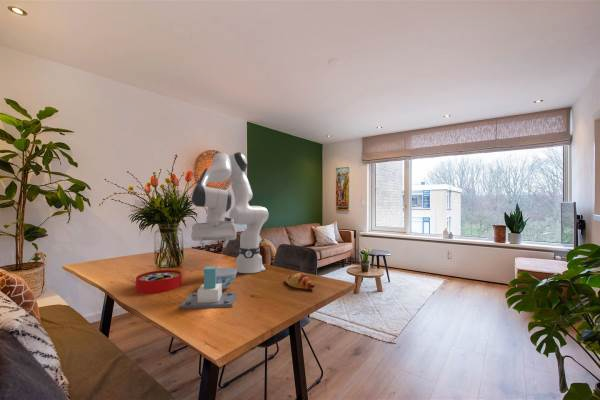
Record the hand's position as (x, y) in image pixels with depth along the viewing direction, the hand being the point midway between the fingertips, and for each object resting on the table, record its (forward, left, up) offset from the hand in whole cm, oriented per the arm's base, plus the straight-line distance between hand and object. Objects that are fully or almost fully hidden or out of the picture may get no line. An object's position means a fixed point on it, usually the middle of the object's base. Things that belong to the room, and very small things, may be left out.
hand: (213, 246), depth 122 cm
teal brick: (+10, +1, -15) cm, 18 cm away
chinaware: (-9, +2, -21) cm, 23 cm away
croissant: (-8, +40, -22) cm, 46 cm away
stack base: (+9, +1, -21) cm, 23 cm away
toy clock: (-13, -28, -22) cm, 38 cm away
